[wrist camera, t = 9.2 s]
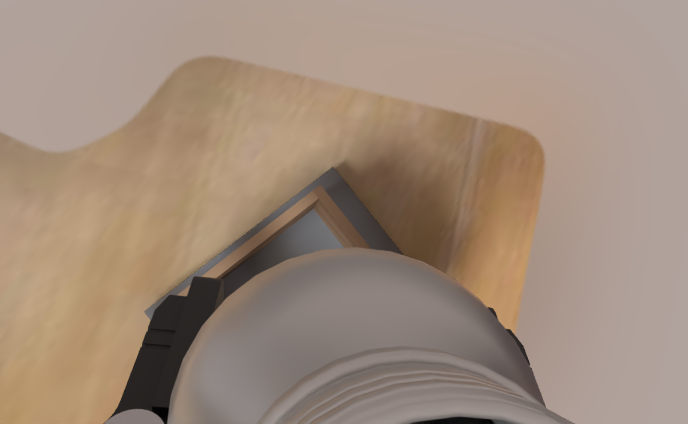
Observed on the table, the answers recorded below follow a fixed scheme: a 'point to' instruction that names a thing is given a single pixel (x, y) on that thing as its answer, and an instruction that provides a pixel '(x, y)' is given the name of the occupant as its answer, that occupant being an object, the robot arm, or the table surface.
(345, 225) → the bottle holder
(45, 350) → the table surface
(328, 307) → the metal bottle
